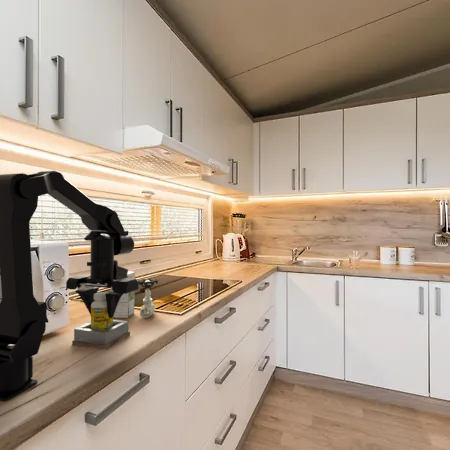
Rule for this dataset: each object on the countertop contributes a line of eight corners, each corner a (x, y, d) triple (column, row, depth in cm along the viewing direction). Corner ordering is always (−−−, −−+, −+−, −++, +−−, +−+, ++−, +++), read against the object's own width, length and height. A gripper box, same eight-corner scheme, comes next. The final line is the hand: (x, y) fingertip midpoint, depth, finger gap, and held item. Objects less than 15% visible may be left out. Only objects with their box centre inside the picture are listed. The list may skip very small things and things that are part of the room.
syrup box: (118, 312, 104) (118, 270, 104) (135, 313, 104) (135, 270, 104) (111, 318, 99) (111, 273, 99) (128, 318, 98) (128, 273, 98)
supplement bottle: (112, 325, 83) (112, 290, 83) (113, 332, 78) (113, 294, 78) (91, 328, 81) (91, 292, 81) (90, 334, 76) (90, 296, 76)
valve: (159, 313, 104) (159, 278, 104) (155, 319, 98) (155, 282, 98) (140, 313, 104) (140, 278, 104) (135, 319, 97) (135, 282, 97)
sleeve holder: (105, 350, 74) (105, 333, 74) (72, 345, 77) (72, 329, 77) (130, 335, 83) (130, 321, 83) (99, 331, 86) (99, 317, 86)
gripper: (150, 255, 85) (149, 311, 85) (94, 253, 90) (94, 306, 90) (125, 259, 74) (125, 324, 74) (64, 257, 80) (64, 316, 80)
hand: (102, 316), depth 80 cm, fingers closed on supplement bottle, 5 cm apart
